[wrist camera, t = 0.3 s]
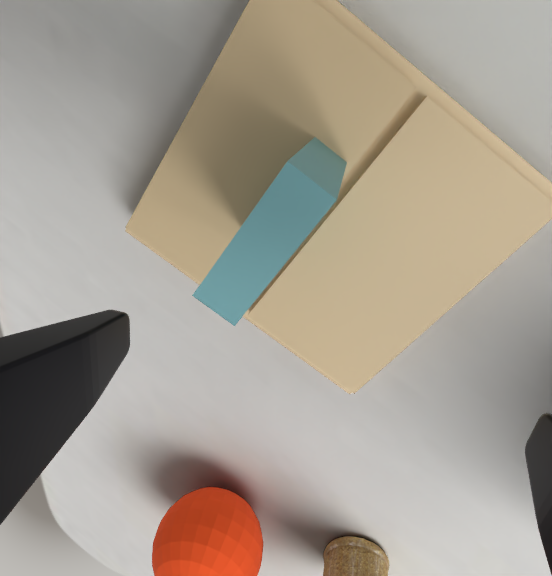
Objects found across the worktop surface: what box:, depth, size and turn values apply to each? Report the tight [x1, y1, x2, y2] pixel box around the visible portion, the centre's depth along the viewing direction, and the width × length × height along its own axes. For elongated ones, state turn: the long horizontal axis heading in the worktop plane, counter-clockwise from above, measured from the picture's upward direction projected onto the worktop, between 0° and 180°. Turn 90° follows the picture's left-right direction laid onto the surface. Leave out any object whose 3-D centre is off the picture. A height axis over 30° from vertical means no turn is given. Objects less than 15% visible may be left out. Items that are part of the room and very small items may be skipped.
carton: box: [125, 0, 552, 394], centre depth 19 cm, size 14×13×2 cm
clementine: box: [152, 487, 263, 576], centre depth 27 cm, size 8×7×7 cm
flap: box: [125, 0, 416, 326], centre depth 15 cm, size 7×12×7 cm, turn 145°
